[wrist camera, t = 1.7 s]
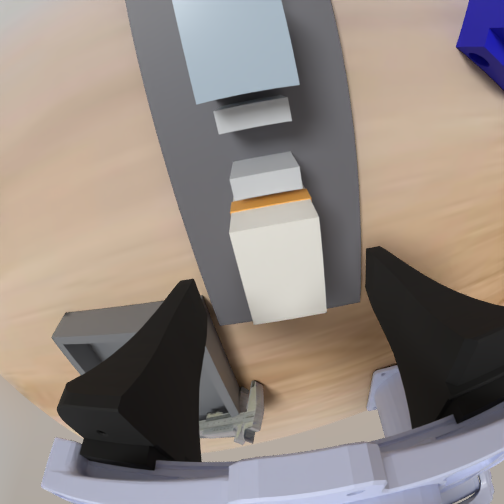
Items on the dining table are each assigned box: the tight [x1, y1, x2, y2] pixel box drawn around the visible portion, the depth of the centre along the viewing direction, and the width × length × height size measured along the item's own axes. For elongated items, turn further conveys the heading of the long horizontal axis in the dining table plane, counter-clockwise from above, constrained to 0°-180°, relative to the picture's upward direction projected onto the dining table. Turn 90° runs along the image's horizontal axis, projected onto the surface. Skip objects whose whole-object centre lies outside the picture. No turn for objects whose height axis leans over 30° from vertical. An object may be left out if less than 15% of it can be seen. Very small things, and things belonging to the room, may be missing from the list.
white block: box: [229, 184, 327, 325], centre depth 15 cm, size 4×5×5 cm
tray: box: [51, 296, 247, 438], centre depth 24 cm, size 13×17×3 cm
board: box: [125, 0, 361, 326], centre depth 13 cm, size 10×26×4 cm, turn 11°
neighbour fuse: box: [172, 0, 300, 105], centre depth 10 cm, size 4×5×5 cm
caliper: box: [199, 381, 264, 445], centre depth 27 cm, size 20×1×6 cm, turn 134°
